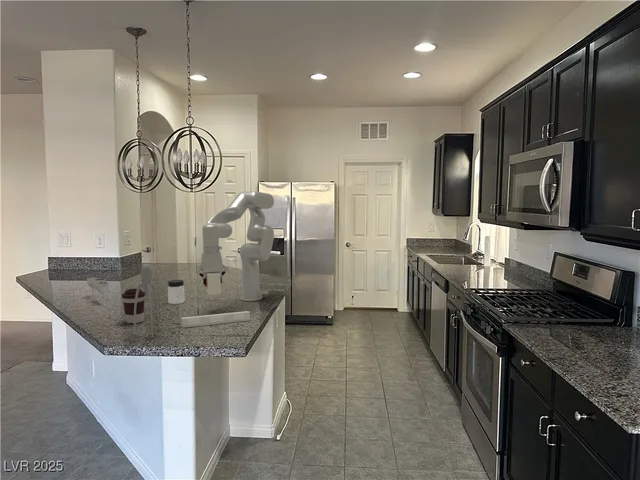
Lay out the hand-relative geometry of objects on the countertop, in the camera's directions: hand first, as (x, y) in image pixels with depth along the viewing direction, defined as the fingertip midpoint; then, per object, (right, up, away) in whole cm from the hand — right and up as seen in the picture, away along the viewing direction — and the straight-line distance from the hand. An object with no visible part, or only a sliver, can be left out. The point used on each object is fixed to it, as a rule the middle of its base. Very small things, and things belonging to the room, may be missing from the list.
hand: (212, 285), depth 217 cm
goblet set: (-72, -12, +29) cm, 79 cm away
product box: (0, -4, 0) cm, 4 cm away
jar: (-26, -12, +23) cm, 37 cm away
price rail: (+6, -16, -19) cm, 25 cm away
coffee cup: (-33, -16, -15) cm, 39 cm away
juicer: (-20, -17, -34) cm, 43 cm away
